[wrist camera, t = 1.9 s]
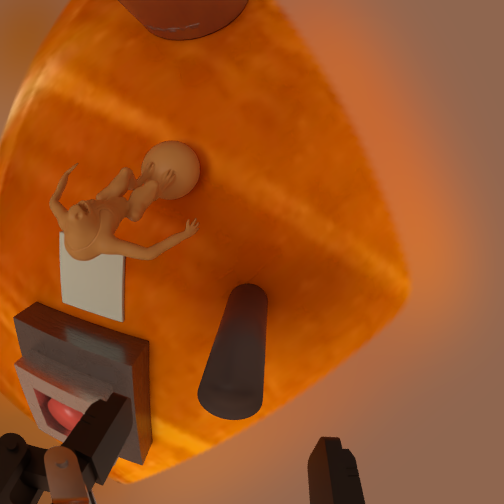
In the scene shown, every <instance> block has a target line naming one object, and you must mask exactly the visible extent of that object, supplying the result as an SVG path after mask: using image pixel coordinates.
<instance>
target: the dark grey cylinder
mask: <svg viewBox="0 0 504 504" xmlns="http://www.w3.org/2000/svg"><path fill="white" fill-rule="evenodd" d="M267 303H268V300H267V296H266V294H265V292H264V291H263V290H262V289H261V288H260V287H258V286H256V285H253V284H242V285H239V286H237V287H236V288H235V289H233V291H232V292H231V294H230V297H229V299H228V302H227V305H226V308H225V311H224V314H223V317H222V320H221V323H220V326H219V329H218V332H217V335H216V338H215V341H214V344H213V347H212V350H211V353H210V356H209V359H208V361H207V364H206V367H205V370H204V373H203V376H202V379H201V382H200V385H199V388H198V399H199V402H200V404H201V405H202V406H203V407H204V409H206V410H207V411H208V412H209V413H211V414H213V415H215V416H217V417H220V418H223V419H229V420H240V419H245V418H248V417H251V416H252V415H254V414H255V413H257V412H258V411H259V409H260V408H261V406H262V402H263V384H264V366H265V346H266V326H267Z"/></svg>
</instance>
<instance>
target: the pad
mask: <svg viewBox="0 0 504 504" xmlns="http://www.w3.org/2000/svg"><path fill="white" fill-rule="evenodd" d="M60 274H61V290H62V301H63V303H66V304H69V305H72V306H74V307H77V308H80V309H83V310H86V311H89V312H92V313H95V314H98V315H101V316H104V317H107V318H110V319H113V320H116V321H120V322H123V321H124V276H125V256H122V255H107V254H100V255H99V256H97V257H96V258H94V259H92V260H89V261H79V260H76V259H74V258H72V257H71V256H70V255H69V253H68V252H67V250H66V248H65V245H64V232H63V231H61V232H60Z"/></svg>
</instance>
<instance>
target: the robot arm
mask: <svg viewBox="0 0 504 504" xmlns="http://www.w3.org/2000/svg"><path fill="white" fill-rule="evenodd" d="M118 1H119V2H120V3H121V4H122V5H123V6H124V7H125V8H126V9H127V10H128V11H129V12H130V13H131V14H132V15H133V16H134V17H136V18H137V19H138V20H139V21H140V22H141V23H142V24H143V25H144V26H145V27H146V28H147V29H148V30H149V31H150V32H151V33H153V34H155V35H156V36H158V37H162V38H165V39H172V40H185V39H193V38H197V37H202V36H205V35H207V34H210V33H213V32H215V31H217V30H219V29H221V28H222V27H224V26H226V25H227V24H229V23H230V22H231V21H232V20H234V19H235V18H236V17H237V16H238V15H239V14H240V13H241V11H242V10H243V8H244V7H245V5H246V3H247V1H248V0H118ZM132 425H133V415H132V405H131V399H130V398H129V397H126V396H123V395H121V394H118V393H115V392H113V393H112V394H111V395H110V397H109V398H108V400H107V401H104V400H102V399H99V400H98V401H96V402H94V403H92V404H91V405H90V406H89V408H88V409H87V410H86V412H85V414H83V416H82V417H81V419H80V421H78V423H77V424H76V426H75V427H74V428H73V430H72V431H71V433H70V434H69V436H68V437H67V438H66V440H65V441H64V443H63V444H62V445H61V446H55V447H52V448H50V449H43V448H39V447H35V446H31V445H28V444H26V442H25V440H24V439H23V438H22V437H21V436H20V435H18V434H15V433H7V434H4V435H3V436H1V437H0V504H37V503H38V501H39V499H40V497H41V495H42V493H43V491H48V492H50V494H51V498H52V504H96V501H95V498H94V495H93V492H92V487H93V485H94V484H95V482H96V483H98V484H100V485H103V484H104V482H105V480H106V478H107V476H108V474H109V473H110V471H111V469H112V467H113V465H114V463H115V461H116V459H117V457H118V455H119V453H120V451H121V449H122V447H123V445H124V443H125V441H126V439H127V438H128V436H129V434H130V432H131V429H132ZM308 480H309V495H310V504H365V501H364V496H363V492H362V487H361V483H360V478H359V473H358V469H357V464H356V460H355V457H354V456H353V454H352V453H351V452H350V451H349V449H342V445H341V441H340V438H338V437H321V438H320V439H319V441H318V443H317V445H316V446H315V448H314V450H313V452H312V453H311V455H310V457H309V460H308Z"/></svg>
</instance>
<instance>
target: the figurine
mask: <svg viewBox="0 0 504 504" xmlns="http://www.w3.org/2000/svg"><path fill="white" fill-rule="evenodd" d="M77 165H78V163H77V164H75V165H74V166H72V167H71V168H70V169H69V170H67V171H66V172H65V173H64V175H63V176H62V178H61V179H60V181H59V183H58V186H57V189H56V191H55V193H54V194H53V196H52V197H51V199H50V202H49V205H50V208H51V210H52V212H53V214H54V215H55V217H56V218H57V220H58V224H59V226H60V228H61V229H62V230H63V232H64V245H65V248H66V250H67V252H68V253H69V255H70V256H71V257H72V258H74V259H76V260H79V261H89V260H92V259H94V258H96V257H97V256H99V255H100V254H107V255H122V256H126V257H131V258H136V259H142V260H152V259H154V258H156V257H158V256H159V255H160V254H161V253H163V252H164V251H166V250H168V249H170V248H171V247H173V246H175V245H177V244H178V243H180V242H181V241H182V240H184V239H186V238H189V237H191V236H192V235H194V234H195V233H196V232H197V231H198V229H199V228H197V227H198V225H199V222H198V223H197V224H196V225H195V226H194V224H195V222H196V219H197V218H195V220H194V221H193V222H192V223H191V225H189V219H188V220H187V223H186V229H185V231H183V232H180V233H177V234H174V235H172V236H170V237H168V238H166V239H165V240H163V241H162V242H160V243H157V244H155V245H153V246H151V247H149V248H145V247H142V246H140V245H137V244H134V243H131V242H127V241H124V240H120V239H118V238H116V237H115V236H114V233H115V231H116V229H117V228H118V226H119V223H120V222H121V221H122V219H123V218H125V217H127V218H129V219H130V220H131V221H134V222H136V221H138V220H140V219H141V217H142V215H143V213H144V211H145V210H146V208H147V207H148V206H149V205H150V204H151V203H152V201H156V200H157V199H158V198H162V199H167V200H172V199H177V198H180V197H183V196H185V195H186V194H188V193H189V192H190V191H191V190H192V189H193V188H194V186H195V185H196V183H197V181H198V178H199V175H200V164H199V160H198V157H197V155H196V154H195V152H194V151H193V150H192V149H191V148H190V147H189V146H188V145H186V144H184V143H182V142H178V141H165V142H162V143H159V144H157V145H156V146H154V147H153V148H152V149H150V151H149V152H148V153H147V154H146V156H145V158H144V160H143V163H142V167H141V176H140V177H139V178H138V179H137V180H136V179H135V177H134V174H133V172H132V170H131V169H130V168H127V167H125V168H122V169H121V171H120V172H119V174H118V175H117V176H116V177H115V178H114V179H113V181H112V182H111V183H110V184H109V186H108V187H106V188H105V189H103V190H102V191H101V192H100V193H98V194H97V196H96V200H94V199H91V200H87V201H80V202H79V203H78V204H76V205H73V206H72V207H71V208H70V209H69V211H67V209H66V208H65V207H64V206H63V205H62V204H61V203H60V202H59V199H60V198H61V195H62V193H63V191H64V189H65V187H66V184H67V180H68V176H69V174H70V173H71V171H72V170H74V168H75V167H76V166H77ZM143 183H144V185H143V186H141V185H142V184H143ZM127 190H134V191H133V192H132V193H131V195H130V198H129V200H128V201H127V200H126V199H125V198H124V197H122V196H123V195H124V194H125V193H126V192H127ZM196 228H197V229H196Z"/></svg>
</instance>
